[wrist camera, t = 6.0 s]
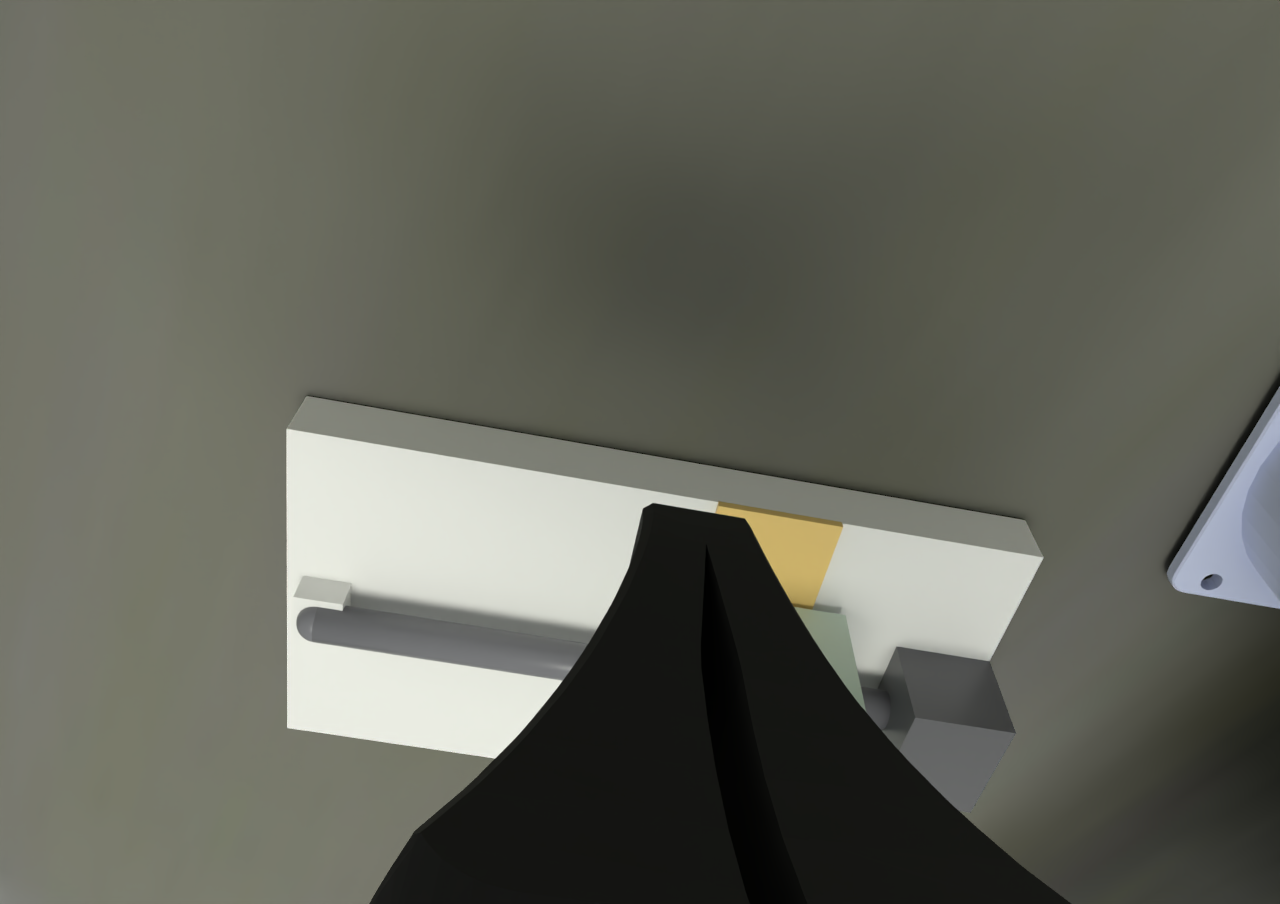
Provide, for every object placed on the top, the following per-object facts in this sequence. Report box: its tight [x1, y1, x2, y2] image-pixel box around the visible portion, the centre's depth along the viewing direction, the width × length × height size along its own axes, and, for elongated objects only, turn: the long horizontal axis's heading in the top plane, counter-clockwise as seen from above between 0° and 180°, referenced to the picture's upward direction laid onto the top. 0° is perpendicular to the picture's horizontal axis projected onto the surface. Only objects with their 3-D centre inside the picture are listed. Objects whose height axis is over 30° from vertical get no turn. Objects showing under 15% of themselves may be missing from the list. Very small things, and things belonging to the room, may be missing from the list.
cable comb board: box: [287, 396, 1043, 813], centre depth 26 cm, size 18×10×4 cm, turn 79°
